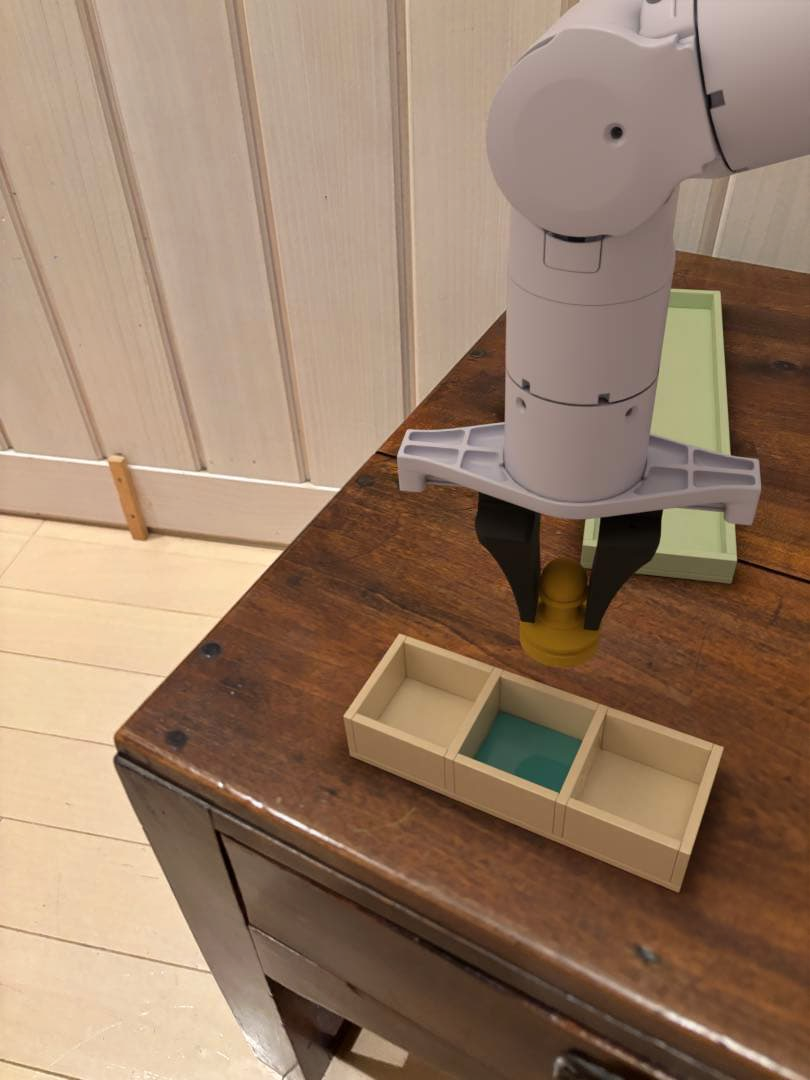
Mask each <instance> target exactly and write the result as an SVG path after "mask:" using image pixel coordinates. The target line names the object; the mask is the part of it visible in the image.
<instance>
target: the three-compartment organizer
mask: <svg viewBox="0 0 810 1080" xmlns="http://www.w3.org/2000/svg"><path fill="white" fill-rule="evenodd" d="M342 717H343V718H342V719H343V723H344V724H343V725H344V729H345V730H344V731H345V734H346V735H345V736H346V741H347V747H348V750H349V752H348V753H349V756H350V757H351V758H354V759H356V760H359V761H360V762H361V761H362V762H364V763H366V764H367V765H371V766H373V767H376V768H378V769H380V770H382V771H385V772H388V773H390V774H392V775H395V776H396V777H400V778H402V779H405V780H406V781H410V782H412V783H414V784H417V785H418V786H421V787H423V788H426V789H428V790H431V791H432V792H436V793H438V794H441V795H443V796H445V797H447V798H450V799H452V800H455V801H457V802H459V803H461V804H465V805H467V806H469V807H472V808H474V809H477V810H479V811H481V812H483V813H486V814H488V815H490V816H493V817H496V818H498V819H501V820H503V821H505V822H507V823H510V824H512V825H515V826H517V827H520V828H522V829H524V830H527V831H529V832H531V833H534V834H536V835H539V836H541V837H543V838H546V839H549V840H551V841H553V842H556V843H558V844H561V845H562V846H565V847H568V848H570V849H572V850H575V851H577V852H580V853H582V854H585V855H587V856H588V857H592V858H594V859H597V860H599V861H600V862H603V863H606V864H608V865H611V866H613V867H615V868H618V869H621V870H623V871H625V872H628V873H629V874H632V875H634V876H637V877H639V878H642V879H644V880H646V881H649V882H651V883H654V884H656V885H658V886H661V887H664V888H666V889H668V890H670V891H673V892H675V893H680V892H681V888H682V886H683V882H684V879H685V876H686V872H687V869H688V866H689V863H690V860H691V856H692V853H693V850H694V848H695V844H696V841H697V838H698V834H699V831H700V828H701V825H702V821H703V819H704V815H705V812H706V809H707V807H708V803H709V799H710V796H711V793H712V790H713V787H714V784H715V779H716V777H717V773H718V770H719V766H720V764H721V760H722V757H723V752H724V750H725V747H724V746H722V745H718V744H717V743H713V742H710V741H708V740H705V739H702V738H699V737H696V736H693V735H691V734H688V733H685V732H682V731H680V730H676V729H674V728H670V727H668V726H665V725H661V724H659V723H656V722H654V721H650V720H648V719H645V718H642V717H640V716H636V715H634V714H631V713H628V712H626V711H623V710H619V709H617V708H615V707H614V708H613V707H611V706H607V705H605V704H602V703H599V702H596V701H594V700H591V699H588V698H584V697H582V696H579V695H576V694H574V693H571V692H568V691H565V690H562V689H559V688H556V687H553V686H551V685H548V684H545V683H543V682H540V681H536V680H533V679H530V678H528V677H525V676H521V675H520V674H516V673H513V672H511V671H508V670H505V669H502V668H500V667H497V666H494V665H491V664H489V663H485V662H482V661H479V660H476V659H474V658H472V657H468V656H465V655H462V654H459V653H457V652H455V651H451V650H448V649H445V648H443V647H440V646H437V645H433V644H431V643H429V642H425V641H423V640H420V639H417V638H414V637H411V636H407V635H406V634H402V633H398V635H397V636H396V637H395V639H394V641H393V642H392V643H391V645H390V647H389V648H388V649H387V651H386V653H385V654H384V655H383V657H382V658H381V660H380V661H379V662H378V664H377V666H376V667H375V669H374V670H373V672H372V673H371V675H370V676H369V678H368V679H367V680H366V682H365V683H364V685H363V686H362V688H361V689H360V691H359V692H358V694H357V695H356V697H355V698H354V700H353V701H352V703H351V704H350V706H348V708H347V709H346V711H345V713H344V714H343V716H342Z"/></svg>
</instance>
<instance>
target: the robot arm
mask: <svg viewBox="0 0 810 1080" xmlns="http://www.w3.org/2000/svg"><path fill="white" fill-rule="evenodd" d="M485 145H486V154H487V158H488V163H489V167H490V170H491V173H492V176H493V178H494V180H495V183H496V185H497V187H498V188H499V190H500V191H501V193H502V194H503V196H504V197H505V199H506V201H508V203H509V205H510V206H509V209H510V210H509V246H508V248H507V255H506V307H505V308H506V309H505V310H506V312H505V317H506V318H505V377H504V378H505V379H504V380H505V381H504V382H505V383H504V385H505V386H504V390H505V391H504V397H505V398H504V421H501V422H497V423H496V422H495V423H487V424H479V425H470V426H461V427H455V428H444V429H442V428H441V429H414V428H413V429H412V428H407V430H406V431H405V434H404V436H403V438H402V442H401V444H400V447H399V449H398V452H397V455H396V461H397V462H396V463H397V472H398V484H399V485H398V486H399V491H402V492H409V493H411V492H412V493H422V492H424V491H425V490H426V488H427V484H428V485H436V486H437V485H439V486H448V487H458V488H467V489H470V490H473V491H476V492H478V501H477V510H476V514H475V518H474V531H475V534H476V537H477V538H476V539H477V540H478V543H479V544H480V545H481V546H483V547H484V548H485V550H487V552H489V554H490V555H491V556H492V558H493V559H494V560H495V562H496V563H497V565H498V566H499V567H500V569H501V571H502V572H503V575H504V576H505V578H506V580H507V583H508V585H509V587H510V589H511V592H512V594H513V597H514V600H515V604H516V606H517V610H518V615H519V621H520V620H521V621H522V622H529V623H535V617H536V611H537V605H538V599H539V596H538V593H537V585H538V582H539V580H540V579H541V574H542V567H541V565H542V564H541V563H542V562H541V541H540V540H541V538H540V537H541V536H540V535H541V534H540V533H541V519H542V515H545V516H548V517H552V518H557V519H564V520H585V519H593V518H600V525H599V534H598V541H597V546H596V551H595V555H594V560H593V564H592V569H590V573H589V579H588V584H587V585H588V587H589V593H588V598H587V602H586V611H585V620H584V630H592V631H597V630H599V627H600V624H601V621H602V622H603V618H604V616H605V615H606V612H607V610H608V609H609V606H611V605H610V604H611V603H612V601H613V600H614V599H615V597H616V595H617V594H618V593H619V591H620V589H621V588H622V587H623V586H624V585H625V584H626V582H628V580H629V579H630V578H632V576H633V575H634V574H636V573H635V572H636V571H638V570H639V569H640V568H641V567H642V566H644V565H645V564H647V563H648V562H650V561H651V560H652V558H653V556H654V555H655V553H656V551H657V549H658V546H659V544H660V539H661V524H662V514H663V509H671V508H683V509H693V510H704V511H714V512H724V515H723V517H724V520H725V521H726V522H728V523H731V524H735V525H743V526H752V525H753V523H754V519H755V516H756V511H757V508H758V503H759V500H760V497H761V493H762V481H761V480H762V479H761V467H760V460H759V459H758V458H753V457H745V456H736V455H732V454H731V455H726V454H722V453H718V452H714V451H710V450H706V449H703V448H699V447H696V446H693V445H689V444H686V443H682V442H679V441H676V440H672V439H669V438H665V437H662V436H658V435H655V434H652V433H650V430H651V424H652V417H653V410H654V403H655V397H656V389H657V382H658V376H659V369H660V361H661V354H662V347H663V340H664V333H665V327H666V320H667V313H668V306H669V299H670V292H671V289H672V286H673V285H672V284H673V277H674V273H675V266H676V260H677V259H676V257H677V256H676V245H675V241H674V233H675V225H676V218H677V211H678V204H679V203H678V202H679V196H680V191H681V190H680V189H681V183H683V182H684V181H685V180H688V179H701V180H715V179H716V180H717V179H723V178H725V177H726V178H727V177H730V176H733V175H736V174H740V173H741V174H742V173H745V172H749V171H752V170H757V169H760V168H763V167H767V166H771V165H775V164H779V163H783V162H787V161H791V160H794V159H798V158H802V157H805V156H809V155H810V0H580V1H578V2H577V3H575V4H574V5H573V6H572V7H570V8H569V9H568V10H567V11H565V13H563V14H562V16H560V17H559V19H557V21H555V22H554V23H553V24H552V25H551V26H550V27H548V29H547V30H546V31H545V32H544V33H543V34H542V35H541V36H540V37H539V38H538V39H537V40H536V41H535V42H533V43H532V45H531V46H530V47H529V48H527V50H525V51H524V52H523V53H522V54H521V55H520V56H519V57H518V58H517V59H516V60H515V61H514V63H513V64H512V65H511V67H510V68H509V70H508V71H507V73H506V74H505V76H504V78H503V80H502V81H501V83H500V85H498V88H497V90H496V92H495V94H494V96H493V99H492V101H491V104H490V107H489V110H488V115H487V119H486V129H485Z"/></svg>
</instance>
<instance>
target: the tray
mask: <svg viewBox="0 0 810 1080" xmlns="http://www.w3.org/2000/svg"><path fill="white" fill-rule="evenodd" d="M722 308H723V307H722V294H721V290H707V289H687V288H686V289H685V288H671V292H670V299H669V306H668V313H667V320H666V327H665V333H664V340H663V347H662V354H661V361H660V369H659V376H658V382H657V389H656V397H655V403H654V410H653V417H652V424H651V430H650V433H652V434H655V435H658V436H662V437H665V438H669V439H672V440H676V441H679V442H682V443H686V444H689V445H693V446H696V447H699V448H703V449H706V450H710V451H714V452H718V453H722V454H726V455H732V454H731V440H730V439H731V438H730V423H729V404H728V391H727V389H728V388H727V375H726V374H727V373H726V360H725V359H726V357H725V342H724V340H725V339H724V328H723V327H724V325H723V324H724V323H723V310H722ZM723 515H724V512H714V511H704V510H693V509H683V508H671V509H663V514H662V524H661V539H660V544H659V546H658V549H657V551H656V553H655V555H654V556H653V558H652V560H651V561H650V562H648V563H647V564H645V565H644V566H642V567H641V568H640V569H639V570H638V571H636V572H635V573H634V574H636V575H647V576H656V577H663V578H664V577H665V578H675V579H682V580H692V581H702V582H710V583H711V582H712V583H720V584H729V585H731V584H733V579H734V576H735V572H736V568H737V563H738V551H737V535H736V533H737V532H736V524H731V523H728V522H726V521H725V520H724V517H723ZM599 525H600V518H593V519H584V527H583V530H584V531H583V537H582V538H583V539H582V544H581V545H582V547H581V556H580V557H581V558H580V564H581V565H582V566H583V568H584V569H590V570H591V569H592V564H593V560H594V555H595V551H596V546H597V541H598V534H599Z"/></svg>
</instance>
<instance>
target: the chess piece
mask: <svg viewBox="0 0 810 1080" xmlns="http://www.w3.org/2000/svg"><path fill="white" fill-rule="evenodd" d="M588 585H589V579H588V574H587V571H586V568H583V566H582V565H581V562H579V561H577V560H575V559H574V558H571V557H566V556H565V557H563V556H561V557H558V558H554V559H552V560H550V561H549V562H548V563H547V564H546V565H545V566H544V568H543V569H542V570H541V579H540V580H539V582H538V585H537V593H538V596H539V599H538V605H537V611H536V617H535V623H529V622H522V621H521V620H520V619H519V642H520V646H521V648H522V649H523V651H524V652H525V653H526V654H527V655H528V656H529V657H530V658H531V659H532V660H533V661H535V662H537V663H539V664H540V665H544V666H546V667H550V668H556V669H569V668H574V667H578V666H581V665H583V664H585V663H587V662H588V661H589V660H591V659H592V658H593V657H594V656H595V655H596V653H597V652H598V649H599V647H600V642H601V641H600V640H601V634H602V628H603V620H602V621H601V624H600V627H599V630H597V631H592V630H584V620H585V611H586V602H587V598H588V593H589V587H588Z"/></svg>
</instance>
